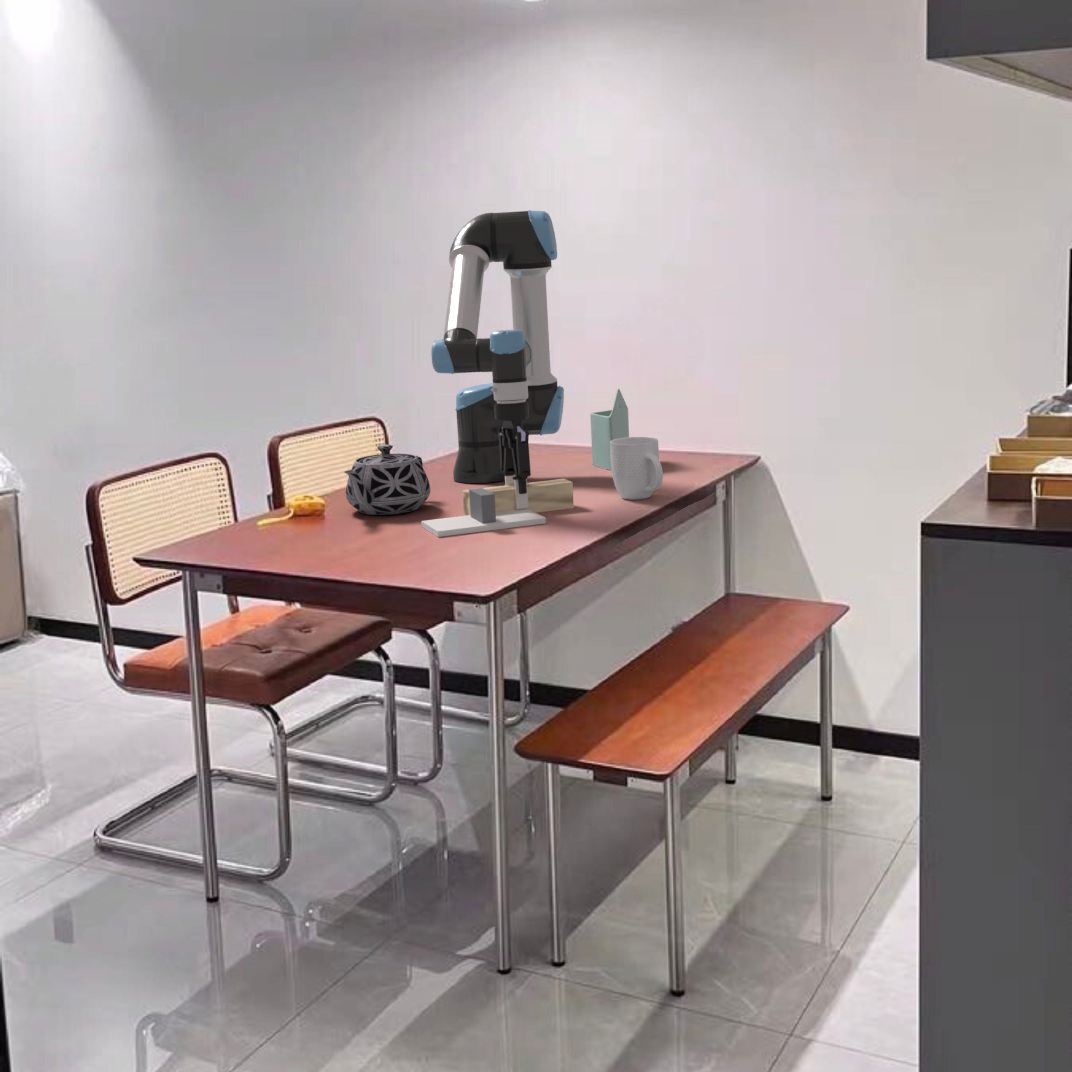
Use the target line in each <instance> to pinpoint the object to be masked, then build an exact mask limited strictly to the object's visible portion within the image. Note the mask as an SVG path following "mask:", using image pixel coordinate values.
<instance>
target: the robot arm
mask: <svg viewBox="0 0 1072 1072" xmlns="http://www.w3.org/2000/svg"><path fill="white" fill-rule="evenodd" d="M557 246H558V245H557V238H556V232H555V228H554V224H553V222H552V218H551V216H550V214H549V213H548V212H546V211H543V210H531V209H530V210H522V211H521V210H519V211H504V212H503V211H501V212H485V213H482V214H479V215H477V216H475V217H474V218H472V219H471V220H469V221H468V222H467V223H466V224H465V225H463V227H461V229H460V230H459V231H458V233H457V235H456V236H455V237H454V239H453V241H452V244H451V246H450V249H449V256H448V262H449V265H450V267H451V268H452V269H451V276H450V282H449V291H448V300H447V307H446V314H445V315H446V316H445V323H444V329H443V330H444V331H443V338H441V339H438V340H436V339H435V340H434V341H433V343H432V344H431V354H430V355H431V365H432V368H433V370H434V371H435V373H437V374H451V375H453V374H464V373H465V374H466V373H470V374H471V373H492V382H491V383H490V382H489V383H484V384H478V385H473V386H470V387H469V386H468V387H466V388H465V387H464V388H463V389H461V390H459V391H457V393H456V396H455V411H456V412H455V413H456V425H457V440H458V441H457V442H458V443H457V444H458V451H457V455H456V458H455V462H454V465H453V471H452V475H453V481H454V482H457V483H462V484H463V483H466V484H487V483H488V484H489V483H496V482H502V481H504V482H505V483H504V486H505V485H514V486H515V502H516V509H523V508H529V505H528V488H527V483H528V478H529V477H531V476H532V475H531V471H532V470H531V460H530V459H531V458H530V448H529V446H530V445H529V440H530V439H529V437H530V436H533V435H534V436H535V435H536V436H538V435H539V436H544V435H553V434H556V433H558V432H559V430H560V428H561V427H562V426H561V425H562V420H563V419H562V418H563V412H564V401H565V393H564V392H565V389H564V387H563V386H561V385H558V378H557V377H556V376H554V375H553V374H552V372H551V370H552V369H551V356H550V355H551V354H550V352H551V351H550V335H549V317H548V316H549V315H548V313H549V311H548V296H547V294H548V293H547V278H546V277H547V273H548V272H549V271H550V270H551V269H552V261H554V260H557V258H558V248H557ZM491 263H503V264H502V266H503V271H504V272H505V273H506V274H507V275H508V276H509V277H510V294H511V295H510V296H511V310H512V311H511V312H512V328H513V329H502V330H494V331H492V332H491V333H490V334H489V337H488V338H487V337H485V338H482V337H481V338H478V332H479V323H480V321H479V320H480V313H481V312H480V311H481V304H482V292H483V285H484V284H483V283H484V277H485V276H484V275H485V272H486V271H487V269H488V268H489V265H490V264H491Z"/></svg>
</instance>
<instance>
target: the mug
mask: <svg viewBox="0 0 1072 1072" xmlns="http://www.w3.org/2000/svg"><path fill="white" fill-rule="evenodd" d="M659 450H660V448H659V439H658V438H655V437H648V436H629V437H626V438H619V439H614V440H611V441H610V459H611V460H610V461H611V470H612V471H611V474H612V475H611V476H612V479H613V484H614V486H615V489H616V491H617V493H618V494H619V496H620V498H622V499H624V500H632V501H634V500H635V501H636V500H646V499H649V498H650V497H651V496H652V495H653V493H654V491H657V490H659V489H660V487H661V486H662V484H663V479H664V477H663V476H664V473H663V471H664V470H663V467H662V463H661V461H660V452H659Z"/></svg>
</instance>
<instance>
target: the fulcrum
mask: <svg viewBox="0 0 1072 1072" xmlns="http://www.w3.org/2000/svg"><path fill="white" fill-rule="evenodd" d="M483 488H484V487H480V488H472V489H468V490H469V496H470V513H471V515H467V516H464V515H459V516H452V517H444V518H436V519H435V518H434V519H427V520H421V527H422V528H423V529H424V530H426V531H428V532H430V533H431V534H432V535H434V536H436V537H437V538H440V537H450V536H458V535H465V534H472V533H481V532H488V531H489V532H490V531H497V530H504V529H505V530H506V529H510V528H512V529H513V528H521V527H526V526H535V525H542V524H547V518H546V517H545V516H543V515H541V514H539V513H538V512H537V513H535V512H533V511H531V510H529V509H527V508H524V509H515V510H507V511H499V512H496V511H495V494H493V493H491V492H489V491H487V490H485V489H483Z"/></svg>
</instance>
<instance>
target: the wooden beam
mask: <svg viewBox="0 0 1072 1072" xmlns="http://www.w3.org/2000/svg"><path fill="white" fill-rule="evenodd" d="M573 485H574V484H573V481H571V480H568V479H567V478H560V479H550V480H543V481H542V480H540V481H532V482H527V488H528V505H529V508H527V509H529V510H531V511H533V512H535V513H537V514H538V513H542V512H543V513H544V512H545V513H546V512H550V511H552V512H553V511H560V510H567V509H574V508H575V507H574V487H573ZM482 488H483V489H485V490H487V491H489V492H491V493H493V494H495V511H496V512H499V511H507V510H515V509H516V502H515V486H514V485H505V484H504V485H497V486H491V487H490V486H488V487H482ZM469 490H470V489H463V490H462V502H463V516H467V515H471V513H470V496H469ZM523 509H524V508H523Z"/></svg>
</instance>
